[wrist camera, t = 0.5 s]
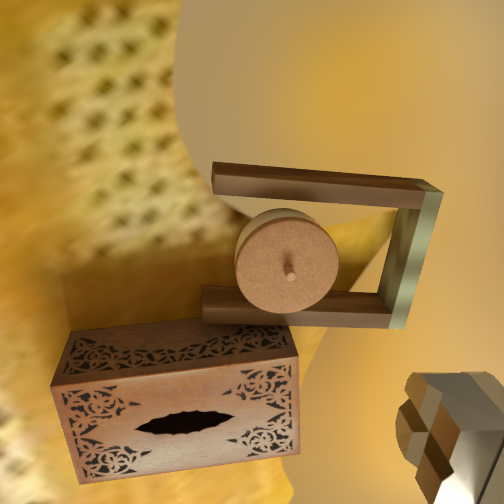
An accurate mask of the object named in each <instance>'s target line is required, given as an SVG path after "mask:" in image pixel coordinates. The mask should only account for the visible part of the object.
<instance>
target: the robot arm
mask: <svg viewBox="0 0 504 504" xmlns="http://www.w3.org/2000/svg"><path fill="white" fill-rule="evenodd" d="M405 392H406V393H407V395H408V397H409V399H408V400H407V401H406V402H405V403H404V404H403V405H402V406H400V407H399V410H398V414H397V418H396V422H395V423H396V438H397V441H398V445H399V448H400V450H401V452H402V454H403V456H404V458H405V459H406V460H408V461H409V462H410V463H412V464H413V465H414V466H416V467H417V473H416V476H415V479H416V481H417V483H418V485H419V487H420V489H421V490H422V492H423V494H424V496H425V498H426V500H427V502H428V504H504V387H503V386H502V385H501V383H500V382H499V381H498V380H497V379H496V378H495V377H494V376H493V375H491V374H489V373H487V372H461V373H416V372H415V373H412V374H411V375H410V377H409V378H408V380H407V383H406V386H405Z"/></svg>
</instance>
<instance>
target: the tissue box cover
mask: <svg viewBox="0 0 504 504" xmlns="http://www.w3.org/2000/svg"><path fill="white" fill-rule="evenodd" d="M50 388H51V392H52V395H53V398H54V402H55V405H56V408H57V412H58V415H59V418H60V422H61V425H62V428H63V431H64V435H65V438H66V441H67V445H68V448H69V451H70V455H71V458H72V461H73V465H74V468H75V471H76V475H77V478H78V481H79V485H82V484H89V483H96V482H103V481H110V480H118V479H125V478H132V477H139V476H146V475H153V474H160V473H167V472H175V471H182V470H189V469H196V468H203V467H210V466H217V465H224V464H232V463H239V462H246V461H253V460H260V459H267V458H274V457H282V456H288V455H296V454H300V409H299V408H300V406H299V355H298V353H297V350H296V347H295V344H294V341H293V338H292V335H291V332H290V329H289V326H283V325H250V324H218V323H202V317H199V318H190V319H181V320H172V321H164V322H155V323H146V324H137V325H128V326H119V327H111V328H102V329H93V330H84V331H75V332H71V333H70V335H69V338H68V341H67V343H66V346H65V348H64V351H63V354H62V356H61V359H60V362H59V364H58V367H57V369H56V372H55V375H54V377H53V380H52V382H51V385H50Z"/></svg>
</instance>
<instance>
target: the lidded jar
mask: <svg viewBox="0 0 504 504" xmlns="http://www.w3.org/2000/svg"><path fill="white" fill-rule="evenodd" d="M338 268H339V257H338V251H337V248H336V245H335V244H334V242H333V240H332V238H331V237H330V236H329V234H328V233H327V232H326V231H325V230H324V229H323V228H322V227H321V226H320V224H318V223H317V222H316V221H315V220H314V219H312V218H311V217H309V216H308V215H306V214H304V213H302V212H300V211H297V210H293V209H287V208H279V209H272V210H269V211H266V212H263V213H261V214H259V215H258V216H256V217H255V218H253V219H252V220H251V221H250V222H249V223H248V224H247V225H246V226H245V227H244V229H243V230H242V232H241V234H240V236H239V238H238V241H237V244H236V249H235V275H236V279H237V283H238V286H239V288H240V290H241V292H242V293H243V295H244V296H245V298H246V299H247V300H248V301H249V302H251V303H252V304H253V305H255V306H256V307H258V308H260V309H262V310H265V311H268V312H273V313H293V312H297V311H300V310H303V309H306V308H308V307H310V306H312V305H313V304H315V303H316V302H318V301H319V300H320V299H322V298H323V297H324V296H325V295H326V294H327V292H328V291H329V290H330V288H331V287H332V285H333V283H334V281H335V279H336V276H337V273H338Z"/></svg>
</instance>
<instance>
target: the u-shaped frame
mask: <svg viewBox="0 0 504 504" xmlns="http://www.w3.org/2000/svg"><path fill="white" fill-rule="evenodd" d="M211 182H212V188H213V194H216V195H231V196H244V197H257V198H271V199H285V200H299V201H312V202H326V203H340V204H353V205H367V206H380V207H394V208H399V209H398V213H397V217H396V221H395V224H394V228H393V232H392V236H391V240H390V245H389V248H388V252H387V256H386V260H385V264H384V268H383V272H382V276H381V280H380V284H379V287H378V291H377V293H364V292H341V291H328V292H327V294H326V295H325V296H324V297H323V298H322V299H320V300H319V301H318V302H316V303H315V304H313V305H312V306H310V307H308V308H306V309H303V310H300V311H297V312H293V313H273V312H268V311H265V310H262V309H260V308H258V307H256V306H255V305H253V304H252V303H251V302H249V301H248V300H247V299H246V298H245V296H244V295H243V293H242V292H241V290H240V288H239V287H224V286H202V296H201V307H202V323H218V324H250V325H283V326H316V327H349V328H350V327H352V328H382V329H404V328H405V324H406V321H407V317H408V314H409V311H410V307H411V304H412V300H413V297H414V293H415V290H416V287H417V283H418V280H419V276H420V273H421V269H422V266H423V262H424V259H425V256H426V252H427V249H428V245H429V242H430V238H431V235H432V232H433V228H434V225H435V221H436V218H437V214H438V211H439V207H440V204H441V200H442V197H443V194H444V193H443V192H442V191H440V190H439V189H437V188H436V187H434V186H432V185H431V184H429V183H428V182H426V181H424V180H423V179H413V178H401V177H390V176H377V175H365V174H353V173H342V172H330V171H317V170H306V169H294V168H283V167H271V166H258V165H247V164H235V163H223V162H213V164H212V177H211Z"/></svg>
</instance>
